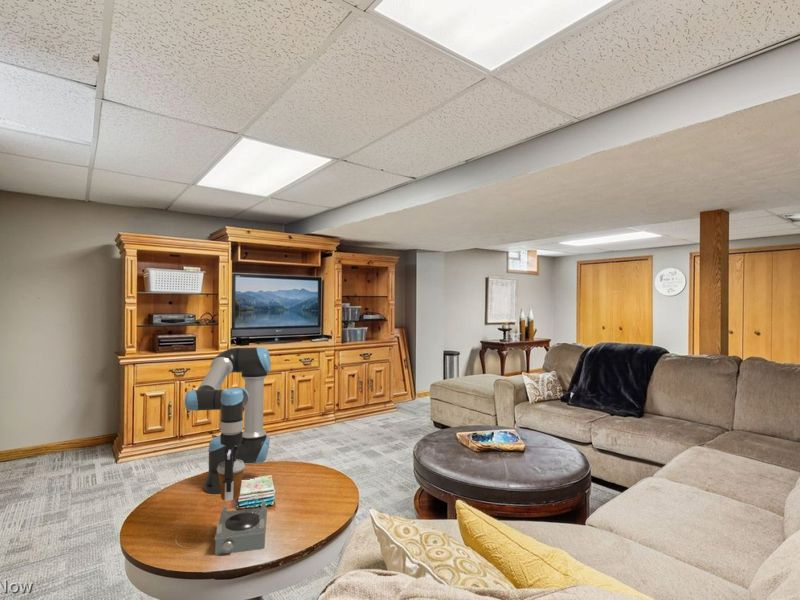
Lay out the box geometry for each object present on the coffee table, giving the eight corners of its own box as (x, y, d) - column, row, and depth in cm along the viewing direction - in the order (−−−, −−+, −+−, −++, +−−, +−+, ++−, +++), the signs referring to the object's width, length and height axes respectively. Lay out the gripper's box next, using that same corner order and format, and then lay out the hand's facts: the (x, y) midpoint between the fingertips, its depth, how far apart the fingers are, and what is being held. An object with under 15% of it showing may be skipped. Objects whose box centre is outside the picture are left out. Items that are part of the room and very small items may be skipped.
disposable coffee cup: (243, 501, 152) (243, 467, 152) (214, 504, 149) (214, 469, 149) (245, 489, 161) (246, 458, 161) (218, 492, 158) (218, 460, 159)
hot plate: (221, 527, 163) (221, 504, 163) (267, 522, 167) (267, 499, 167) (213, 557, 144) (214, 530, 144) (265, 550, 149) (265, 524, 149)
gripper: (225, 424, 164) (224, 483, 164) (215, 441, 144) (214, 509, 144) (245, 423, 166) (244, 481, 166) (238, 440, 146) (238, 506, 146)
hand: (230, 494), depth 155 cm, fingers closed on disposable coffee cup, 8 cm apart
